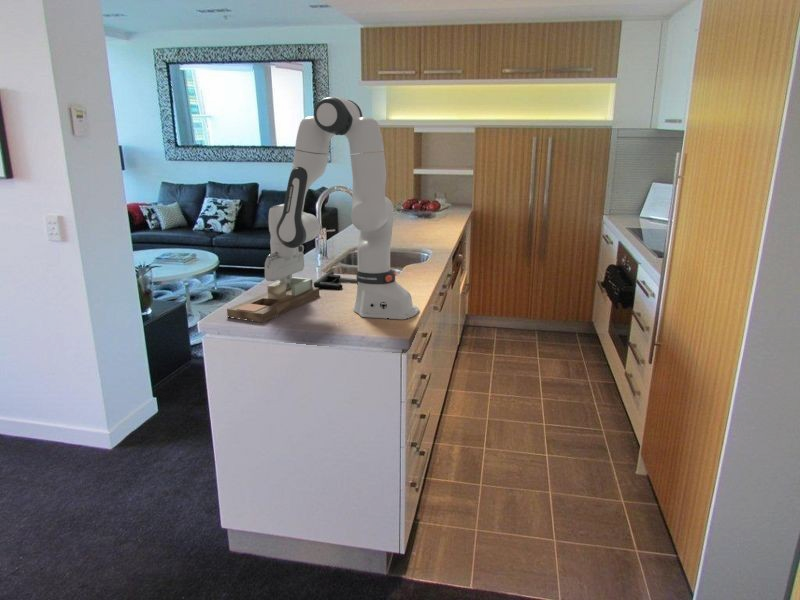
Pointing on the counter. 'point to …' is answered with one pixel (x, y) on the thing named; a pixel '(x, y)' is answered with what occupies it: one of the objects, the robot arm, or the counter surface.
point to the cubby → (299, 285)
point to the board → (272, 305)
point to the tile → (251, 307)
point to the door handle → (334, 279)
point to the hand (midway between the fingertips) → (286, 287)
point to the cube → (276, 291)
